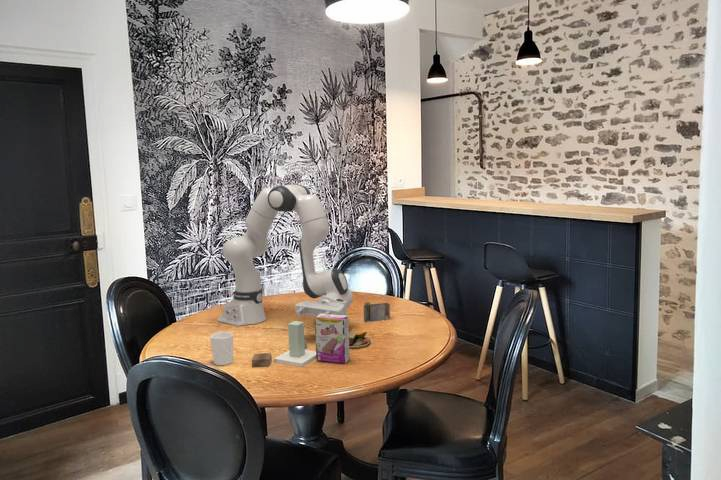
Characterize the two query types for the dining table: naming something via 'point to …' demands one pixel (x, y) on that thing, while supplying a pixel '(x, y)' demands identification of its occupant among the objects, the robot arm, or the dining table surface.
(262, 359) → the walnut block
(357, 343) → the toy sandwich meal
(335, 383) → the dining table surface
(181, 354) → the dining table surface
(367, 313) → the dark grey piece
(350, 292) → the robot arm
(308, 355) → the plate
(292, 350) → the sage block
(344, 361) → the candy bar box
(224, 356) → the white cup
